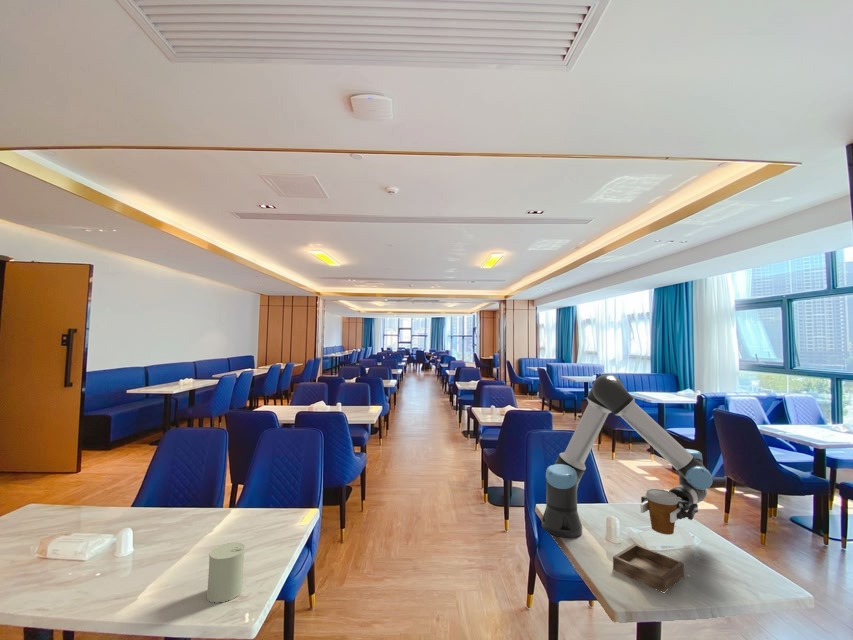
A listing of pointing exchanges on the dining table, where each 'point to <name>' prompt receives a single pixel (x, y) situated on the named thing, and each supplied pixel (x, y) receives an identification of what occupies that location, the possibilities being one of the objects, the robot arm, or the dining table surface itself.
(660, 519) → the disposable coffee cup
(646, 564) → the cup tray
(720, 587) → the dining table surface
